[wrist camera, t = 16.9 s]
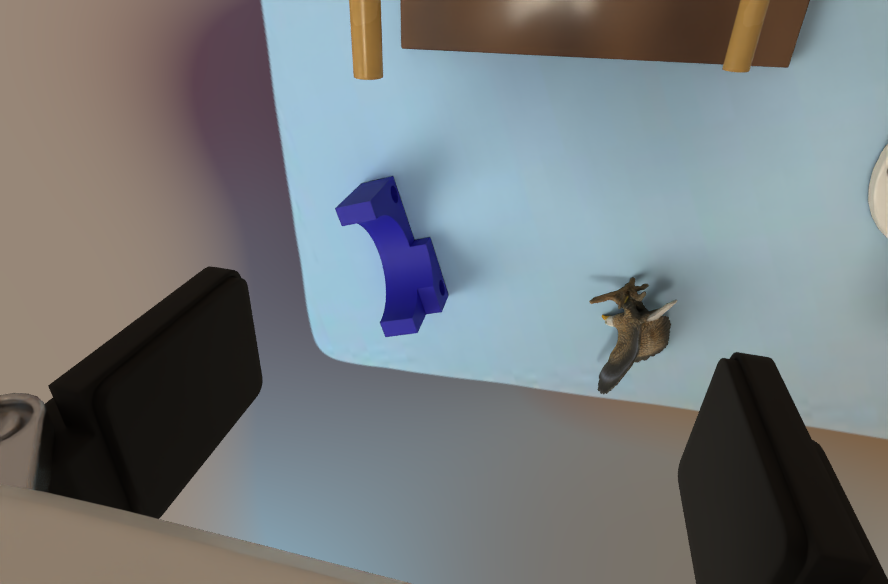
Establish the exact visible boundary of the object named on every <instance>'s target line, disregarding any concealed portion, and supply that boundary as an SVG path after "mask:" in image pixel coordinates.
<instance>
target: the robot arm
mask: <svg viewBox="0 0 888 584" xmlns="http://www.w3.org/2000/svg"><path fill="white" fill-rule="evenodd" d="M868 202H869V207H870V211H871V216H872V218H873V220H874V221H875V223H876V225H877V227H878V229H879V230H880V231H881V232H882V233H883V234H884V235H885V236H886V237H887V238H888V144H887V145H886V147H885V148H884V150H883V151H882V152H881V155H880V157H879V159H878V161H877V163H876V165H875V167H874V169H873V172H872V176H871V180H870V183H869V197H868ZM261 387H262V373H261V366H260V360H259V354H258V347H257V341H256V335H255V329H254V323H253V316H252V310H251V304H250V297H249V292H248V286H247V282H246V281H245V280H244V279H242V278H241V276H240V274H239V273H238V272H237V271H235V270H230V269H224V268H217V267H207V268H205V269H203V270H202V271H201V272H199V273H198V274H197V275H195V276H194V277H193V278H191V279H190V280H189V281H187V282H186V283H185V284H183V285H182V286H181V287H179V288H178V289H177V290H175V291H174V292H173V293H171V294H170V295H169V296H167V297H166V298H165V299H163V300H162V301H161V302H159V303H158V304H157V305H155V306H154V307H153V308H151V309H150V310H149V311H147V312H146V313H145V314H143V315H142V316H141V317H139V318H138V319H137V320H135V321H134V322H133V323H131V324H130V325H129V326H127V327H126V328H125V329H123V330H122V331H121V332H119V333H118V334H117V335H115V336H114V337H113V338H112V339H110V340H109V341H107V342H106V343H105V344H103V345H102V346H101V347H99V348H98V349H97V350H95V351H94V352H93V353H91V354H90V355H89V356H87V357H86V358H85V359H83V360H82V361H81V362H79V363H78V364H76V365H75V366H74V367H73V368H71V369H70V370H68V371H67V372H66V373H65V374H63V375H62V376H61V377H59V378H58V379H56V380H55V381H54V382H52V383H51V384H50V385H49V389H50V391H51V393H52V396H53V398H52V399H51V400H49V401H48V402H47V403H45V404H44V402H43V401H41V400H40V399H39V398H38V397H37V396H34V395H30V394H24V393H12V394H5V395H0V584H411V583H407V582H403V581H399V580H396V579H392V578H388V577H384V576H380V575H376V574H373V573H369V572H365V571H361V570H357V569H353V568H349V567H345V566H342V565H338V564H334V563H330V562H326V561H322V560H318V559H314V558H310V557H307V556H302V555H299V554H295V553H290V552H287V551H283V550H279V549H275V548H271V547H268V546H263V545H260V544H256V543H251V542H247V541H244V540H240V539H236V538H232V537H228V536H224V535H220V534H216V533H212V532H208V531H204V530H200V529H196V528H192V527H188V526H184V525H180V524H176V523H172V522H168V521H164V520H160V519H159V518H160V517H161V516H162V515H163V514H164V512H165V511H166V510H167V509H168V507H169V506H170V505H171V503H172V502H173V501H174V500H175V499H176V497H177V496H178V495H179V493H180V492H181V491H182V489H184V487H185V486H186V485H187V483H188V482H189V481H190V480H191V478H192V477H193V476H194V475H195V474H196V472H197V471H198V469H199V468H200V467H201V466H202V465H203V463H204V462H205V461H206V460H207V458H208V457H209V456H210V455H211V453H212V452H213V451H214V450H215V448H216V447H217V446H218V445H219V443H220V442H221V441H222V440H223V438H224V437H225V436H226V435H227V433H228V432H229V431H230V430H231V428H232V427H233V426H234V425H235V423H236V422H237V421H238V420H239V418H240V417H241V416H242V414H243V413H244V412H245V411H246V409H247V408H248V407H249V406H250V405H251V403H252V402H253V401H254V400H255V398H256V397H257V396H258V394H259V392H260V390H261ZM678 483H679V489H680V495H681V500H682V506H683V512H684V517H685V523H686V528H687V534H688V540H689V545H690V551H691V557H692V562H693V568H694V574H695V579H696V584H888V579H887V577H886V575H885V573H884V571H883V569H882V567H881V565H880V563H879V561H878V559H877V557H876V555H875V553H874V550H873V548H872V546H871V544H870V542H869V540H868V539H867V537H866V534H865V532H864V530H863V528H862V526H861V525H860V522H859V520H858V518H857V516H856V514H855V513H854V510H853V508H852V506H851V504H850V502H849V500H848V498H847V496H846V495H845V492H844V490H843V488H842V486H841V485H840V483H839V480H838V478H837V476H836V474H835V472H834V470H833V468H832V466H831V464H830V462H829V460H828V458H827V456H826V454H825V452H824V451H823V449H822V448H821V446H820V445H819V444H818V443H817V442H815V441H813V440H812V439H811V437H810V435H809V433H808V431H807V429H806V427H805V425H804V423H803V420H802V418H801V416H800V414H799V412H798V410H797V408H796V406H795V404H794V402H793V400H792V398H791V396H790V394H789V391H788V389H787V387H786V385H785V383H784V381H783V379H782V377H781V375H780V373H779V371H778V369H777V367H776V365H775V363H774V361H773V360H772V359H771V358H769V357H763V356H757V355H751V354H745V353H739V352H736V353H733V355H732V356H731V357H730V359H726V358H722V359H720V361H719V362H718V364H717V367H716V369H715V372H714V374H713V377H712V380H711V382H710V385H709V387H708V390H707V393H706V395H705V398H704V400H703V403H702V406H701V408H700V411H699V414H698V416H697V419H696V421H695V424H694V427H693V429H692V432H691V434H690V437H689V440H688V442H687V445H686V447H685V450H684V453H683V455H682V458H681V460H680V464H679V469H678Z"/></svg>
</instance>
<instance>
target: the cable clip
mask: <svg viewBox="0 0 888 584" xmlns="http://www.w3.org/2000/svg"><path fill="white" fill-rule="evenodd" d="M335 210H336V212H337V215H338V217H339V220H340V222H341V225H342V226H346V225H351V224H356V223H358V224H359V225H361V226H362V227H363V228H364V229H365V230H366V231H367V232H368V233H369V235H370V236H371V237H372V239H373V241H374V243H375V245H376V247H377V249H378V252H379V255H380V258H381V261H382V265H383V269H384V274H385V282H386V303H385V309H384V313H383V317H382V319H381V321H380V324H381V327H382V329H383V332H384V334H385V337H390V336H398V335H405V334H413V333H418V331H419V329H420V326H421V324H422V322H423V320H424V318H425V315H426V314H431V313H439V312H442V310H443V308H444V305H445V303H446V300H447V298H448V292H447V289H446V286H445V283H444V279H443V276H442V273H441V270H440V267H439V264H438V261H437V257H436V254H435V251H434V248H433V245H432V242H431V239H430V237H428V238H423V239H417V240H414V237H413V234H412V231H411V228H410V225H409V222H408V219H407V216H406V213H405V210H404V207H403V204H402V201H401V198H400V195H399V192H398V189H397V186H396V183H395V180H394V177H393V176H391V177H387V178H383V179H378V180H374V181H370V182H366V183H361V184H360V185H359V186H358V187H357V188H356V189H355V190H354V191H353V192H352V193H351V194H350V195H349V196H348V197H347V198H346V199H345V200H344V201H342V202H341V203H340V204H339V205H338V206H337V207H336V208H335Z"/></svg>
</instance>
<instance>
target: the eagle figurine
mask: <svg viewBox="0 0 888 584" xmlns="http://www.w3.org/2000/svg"><path fill="white" fill-rule="evenodd" d="M648 286H649V285H648V284H643V285H642V286H635V278H634V277H632V278H631V279H630V282H629V283H627V284H625V286H624V287H622V288H621V289H619V290H617V291H614V292H610V293H607V294H604V295H600V296H597V297H594V298H593V299H592V300H590V301H589V302H590V303H591V304H593V303H599V302H604V301H607V300H613V301H615V302H616V304H618V309H621V307H622V308H623V309H624V312H623V313H619V314H617V315H614V316H604V315H602V318H603V319H604V320H605V324H607V325H609V326H613V327H616V328H617V330H618V341H617V344H616V346H615V348H614V349H613V351H612V352H611V354H610V357H609V360H608V362H607V363H606V364H605V365H604V367H603V368H602V370H601V372H600V375H599V379H600V380H599V383H598V391H600V393H601V394H602V393H603V394H605V393H606V394H607V393H608V392H609V391H611V390H612V389H613V388H614V387H615V386H616V385H617V384H618V383H619V382H620V380H621V379H622V378H623V377H624V375H625V374H626V373H627V371H628V370H629V369H630V368H631V366H632V365H633V363H634V362H640V361H641V360H647V359H648V358H649V357H650V356H655V354H657V353H660V352H661V351H663V349H664V348H666V345H668V341H669V335H670V334H669V333H670V328H671V327H670V326H671V323H670V320H669V317H666V316H661V315H663V314H664V313H665V312H666V311H667V310H668V309H670V308H671V307H672V306H673V305H674V304H675V303H676V302H677V300H674V301H672V302H670V303H667V304H666V305H664V306H663V307H662V308H660V309H655V310H652V311H648V310H647V309H646V308H645V306H644V305H643V303H642V300H643V298H644V297H645V296H646V292H645V291H644V292H643V293H642V294H638V293H637V291H640V290H645V289H646V288H647V287H648Z"/></svg>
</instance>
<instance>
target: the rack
mask: <svg viewBox="0 0 888 584" xmlns="http://www.w3.org/2000/svg"><path fill="white" fill-rule="evenodd" d="M809 1H810V0H401V47H402V48H403V49H423V50H443V51H463V52H483V53H503V54H523V55H543V56H563V57H583V58H604V59H624V60H644V61H664V62H684V63H704V64H723V68H722V69H723V70H725V71H730V72H749V70H750V67H751V66H764V67H785V68H787V67H788V66H789V64H790V61H791V57H792V54H793V51H794V48H795V45H796V42H797V39H798V36H799V33H800V29H801V26H802V23H803V20H804V17H805V14H806V11H807V8H808V5H809ZM349 5H350V22H351V39H352V56H353V73H354V78H357V79H363V80H375V79H381V78H383V58H382V28H381V0H349Z"/></svg>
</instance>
